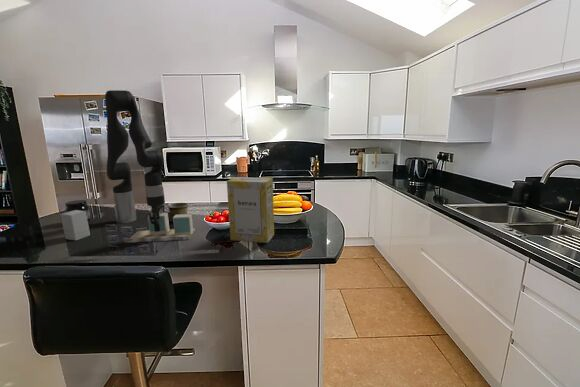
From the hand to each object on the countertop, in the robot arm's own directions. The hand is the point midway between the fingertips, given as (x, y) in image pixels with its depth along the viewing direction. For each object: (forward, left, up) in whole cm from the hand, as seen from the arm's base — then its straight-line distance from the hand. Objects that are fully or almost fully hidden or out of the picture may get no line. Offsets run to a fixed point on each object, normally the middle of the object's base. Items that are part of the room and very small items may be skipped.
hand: (159, 229), depth 133 cm
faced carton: (+11, 0, -3) cm, 11 cm away
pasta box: (+44, -5, -5) cm, 45 cm away
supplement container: (-54, +31, -5) cm, 62 cm away
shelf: (+1, 0, -5) cm, 5 cm away
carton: (0, 0, -2) cm, 2 cm away
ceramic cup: (+2, +24, -5) cm, 25 cm away
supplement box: (-41, +7, -5) cm, 42 cm away
